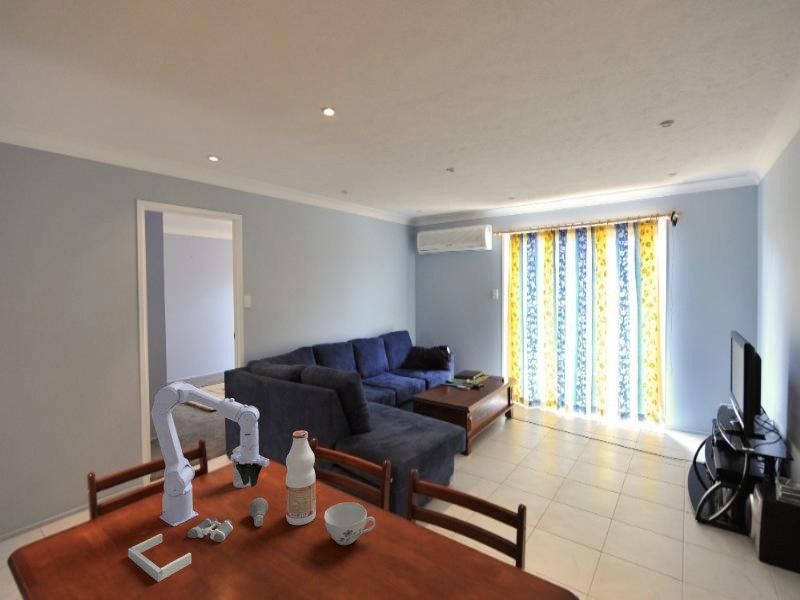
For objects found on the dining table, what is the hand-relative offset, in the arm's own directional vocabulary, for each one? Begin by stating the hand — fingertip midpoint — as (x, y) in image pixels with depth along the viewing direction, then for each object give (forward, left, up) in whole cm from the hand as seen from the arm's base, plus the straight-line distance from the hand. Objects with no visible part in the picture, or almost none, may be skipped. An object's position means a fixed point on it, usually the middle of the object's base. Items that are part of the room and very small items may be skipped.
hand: (250, 484), depth 132 cm
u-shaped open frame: (0, -26, -9) cm, 28 cm away
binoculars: (0, -13, -10) cm, 17 cm away
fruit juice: (+17, +7, -10) cm, 21 cm away
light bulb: (+11, -4, -8) cm, 14 cm away
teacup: (+38, +7, -10) cm, 40 cm away
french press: (-18, +11, -10) cm, 23 cm away
